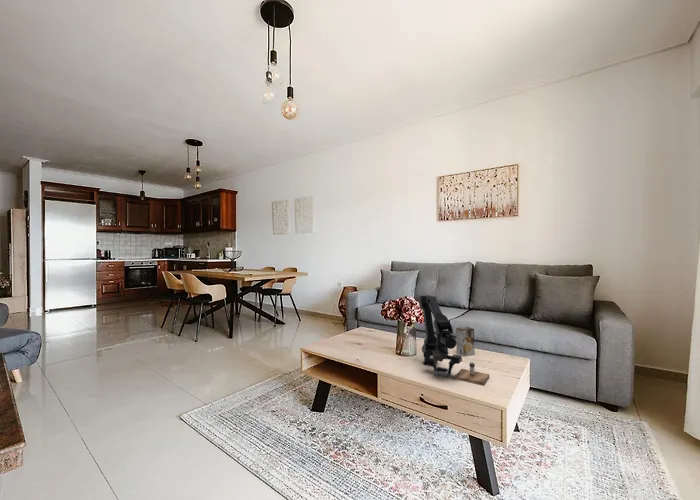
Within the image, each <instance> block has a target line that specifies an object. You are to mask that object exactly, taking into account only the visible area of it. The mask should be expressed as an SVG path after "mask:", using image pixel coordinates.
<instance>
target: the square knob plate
mask: <svg viewBox="0 0 700 500" xmlns="http://www.w3.org/2000/svg"><path fill="white" fill-rule="evenodd" d="M475 364H476V363H474V362H470V363H469V364H468V365H469V369H464V368H461V369H460V370H459V371H457V373H456V374H455V375H454V380H457V381H462V382H466V383H471V384H475V385H480V386H485V385H486V384H487V382H488V380H489V379H490V374H489V373H486V372H485V373H484V372H480V371H479V372H478V371H475V367H476V365H475Z"/></svg>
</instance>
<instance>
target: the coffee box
mask: <svg viewBox="0 0 700 500" xmlns="http://www.w3.org/2000/svg"><path fill="white" fill-rule="evenodd" d="M455 332H456V333H455V336H456V338H455V340H456V346H455V347H456V349H455V350H456V355H461V357H467V356H472V355H475V354H476V353H475V328H472V327H469V326H464V327H463V326H461V327H456V328H455Z"/></svg>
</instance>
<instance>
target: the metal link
mask: <svg viewBox="0 0 700 500" xmlns="http://www.w3.org/2000/svg"><path fill="white" fill-rule="evenodd" d="M451 375H452V372H451V373H450V375H449V368H447V367H441V366H437V368H436V369H435V370H434V369H433V377H439V378H443V379H448V378H449V377H450V376H451Z"/></svg>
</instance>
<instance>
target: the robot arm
mask: <svg viewBox="0 0 700 500" xmlns="http://www.w3.org/2000/svg"><path fill="white" fill-rule="evenodd" d="M417 303H418V306H419V308H420V309H421V310H422V315H423V322H424V329H425V337H424V338H425V339H423V345H422V347H421V352H422V355H423V359H424V360H423V364H424V365H426V366H427V365H428V366H432V367H433V371H434V370H435V369H436V368H437V367H438V366H437V364H438V362H440V363H442V362H443V361H444V360H449V362H448V369H449V375H450V373H451V374H452V371H453V368H454V365H456V364H457V365H458V364H460V363H462V362H463V356H461V355H459V354H454V353H453V354H452V355H449V349H450V350H452V349H453V350H454V348H455V347H456V338H454V337H453V334H454V329H453V327H452V324H451V322H450V320H449V319H448V316H447V315H444V313H443V312H442V310H441V308H440V306H439V304H438V302H437V298H436V296H433V295H430V294H429V295H428V294H427V295H419V297H417ZM433 318H434V320H433ZM434 329H435V330H434ZM435 333H436V335H435ZM436 337H437V338H436ZM450 376H451V375H450Z"/></svg>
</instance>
